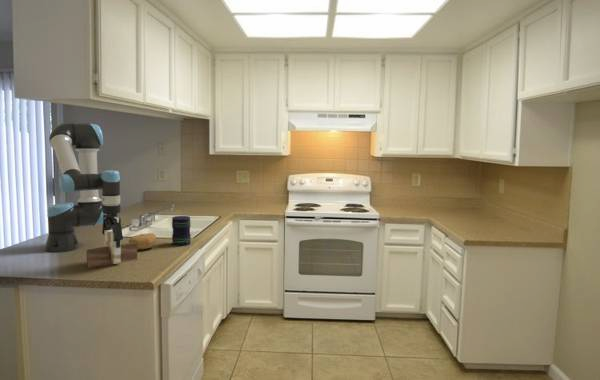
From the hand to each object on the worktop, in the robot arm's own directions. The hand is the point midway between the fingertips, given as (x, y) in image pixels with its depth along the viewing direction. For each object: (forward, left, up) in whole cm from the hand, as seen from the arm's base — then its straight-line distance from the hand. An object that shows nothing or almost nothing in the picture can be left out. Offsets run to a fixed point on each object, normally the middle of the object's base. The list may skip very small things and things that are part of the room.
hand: (112, 252), depth 188 cm
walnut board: (0, 0, -5) cm, 5 cm away
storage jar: (-11, +41, -5) cm, 43 cm away
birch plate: (0, 0, -4) cm, 4 cm away
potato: (-14, +21, -5) cm, 26 cm away
